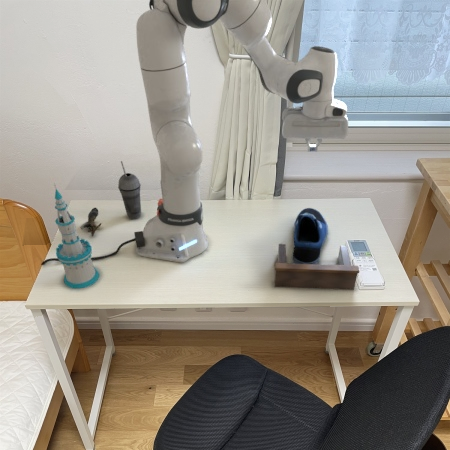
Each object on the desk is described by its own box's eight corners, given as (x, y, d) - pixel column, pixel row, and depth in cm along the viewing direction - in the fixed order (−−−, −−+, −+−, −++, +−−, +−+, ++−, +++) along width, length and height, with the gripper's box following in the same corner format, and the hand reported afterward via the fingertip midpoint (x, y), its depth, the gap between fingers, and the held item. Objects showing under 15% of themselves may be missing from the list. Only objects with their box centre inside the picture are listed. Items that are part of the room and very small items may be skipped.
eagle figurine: (109, 230, 150) (103, 212, 155) (94, 218, 144) (89, 200, 149) (92, 243, 151) (87, 225, 156) (76, 232, 146) (71, 214, 151)
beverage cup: (143, 221, 155) (134, 166, 142) (122, 222, 155) (111, 166, 142) (146, 210, 161) (138, 156, 147) (125, 210, 161) (116, 156, 148)
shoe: (328, 219, 155) (333, 186, 146) (324, 274, 133) (330, 239, 125) (296, 216, 156) (299, 183, 148) (287, 270, 135) (290, 235, 126)
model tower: (64, 269, 136) (35, 176, 116) (99, 264, 138) (75, 172, 118) (63, 290, 129) (31, 195, 109) (99, 285, 130) (74, 190, 110)
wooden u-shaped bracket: (273, 287, 129) (274, 268, 124) (273, 257, 139) (274, 238, 135) (355, 290, 127) (359, 271, 123) (348, 259, 138) (352, 240, 133)
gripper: (282, 110, 136) (279, 154, 146) (352, 110, 135) (345, 155, 144) (282, 103, 141) (279, 146, 150) (349, 103, 140) (342, 147, 149)
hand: (312, 150), depth 147 cm, fingers closed
